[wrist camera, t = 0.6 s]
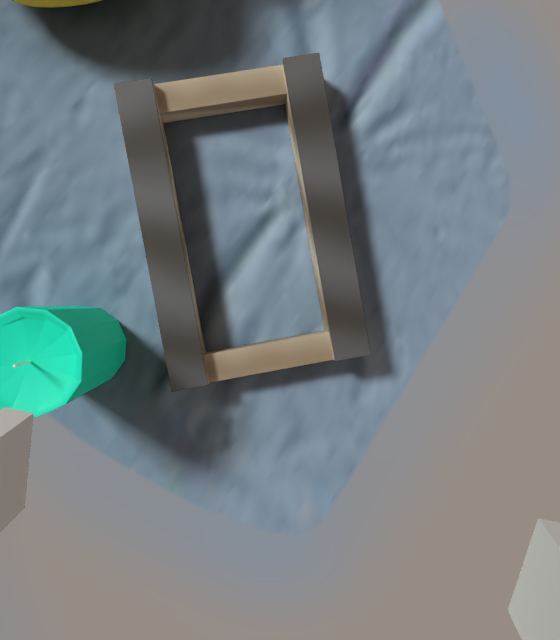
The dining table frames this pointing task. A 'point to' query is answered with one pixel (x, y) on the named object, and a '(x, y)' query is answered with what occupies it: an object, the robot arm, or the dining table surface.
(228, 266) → the dining table surface
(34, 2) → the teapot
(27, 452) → the robot arm
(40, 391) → the candle
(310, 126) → the rectangular wooden frame
